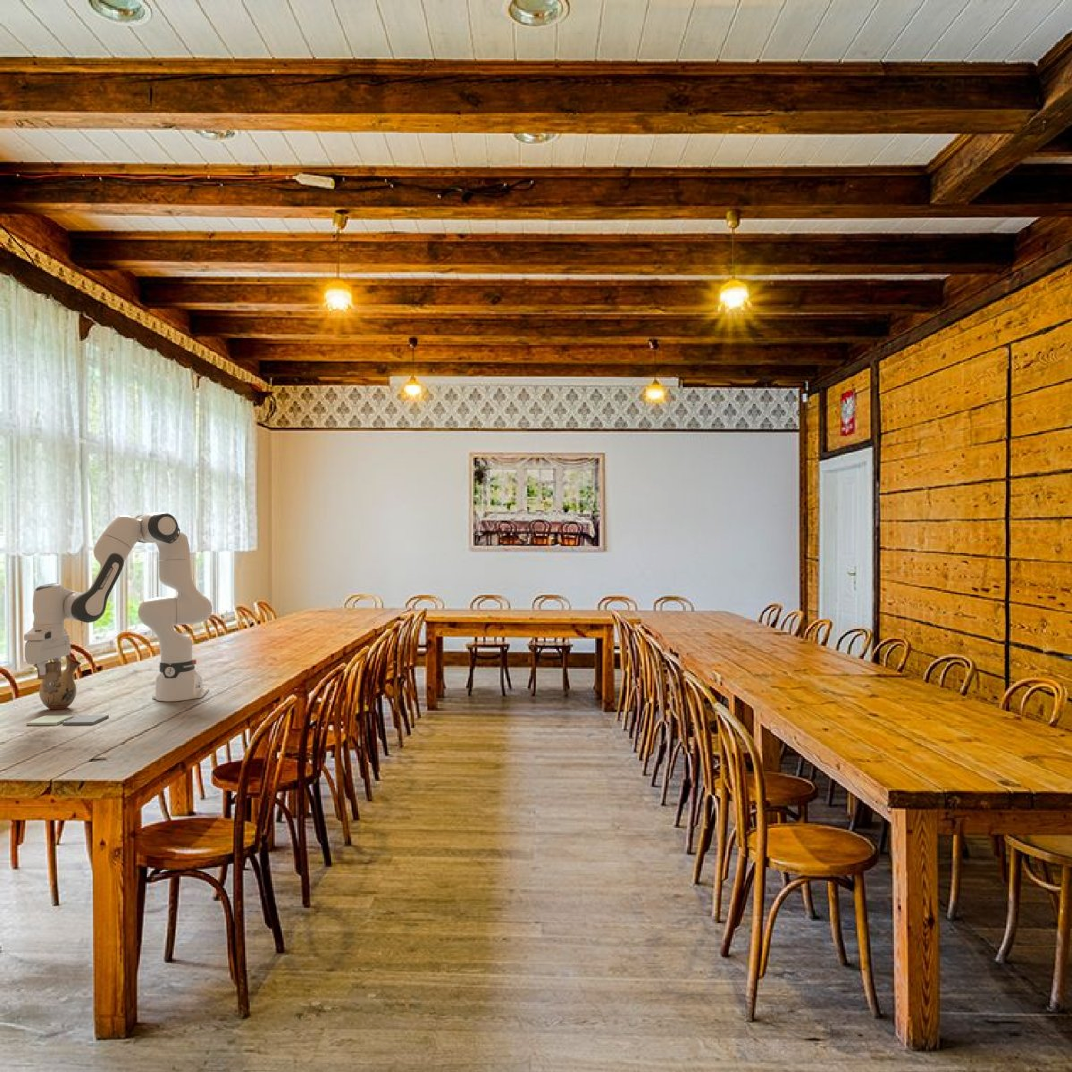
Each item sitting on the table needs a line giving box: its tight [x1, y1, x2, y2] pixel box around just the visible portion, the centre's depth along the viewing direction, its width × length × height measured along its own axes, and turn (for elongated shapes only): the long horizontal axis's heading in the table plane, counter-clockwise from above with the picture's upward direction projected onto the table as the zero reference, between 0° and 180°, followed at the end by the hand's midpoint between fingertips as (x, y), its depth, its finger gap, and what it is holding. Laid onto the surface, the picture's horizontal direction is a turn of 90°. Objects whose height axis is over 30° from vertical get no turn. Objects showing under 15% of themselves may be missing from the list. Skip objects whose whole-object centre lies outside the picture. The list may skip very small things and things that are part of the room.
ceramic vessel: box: [32, 653, 82, 710], centre depth 291 cm, size 16×9×25 cm, turn 94°
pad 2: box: [62, 714, 110, 726], centre depth 271 cm, size 10×10×1 cm
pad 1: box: [25, 714, 75, 726], centre depth 271 cm, size 10×10×1 cm
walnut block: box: [36, 661, 62, 680], centre depth 271 cm, size 5×5×5 cm
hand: (49, 672), depth 271 cm, fingers closed on walnut block, 5 cm apart
